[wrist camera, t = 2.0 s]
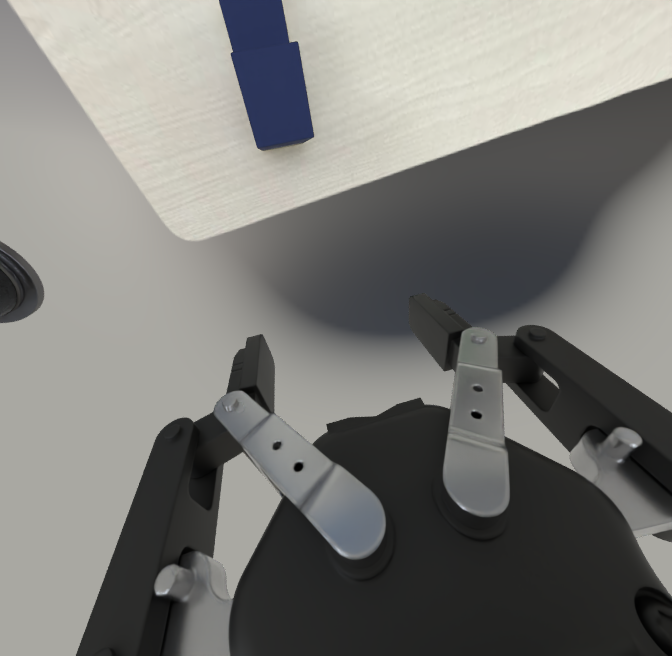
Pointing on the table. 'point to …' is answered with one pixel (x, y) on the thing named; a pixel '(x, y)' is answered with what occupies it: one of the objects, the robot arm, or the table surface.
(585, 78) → the table surface
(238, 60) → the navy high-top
